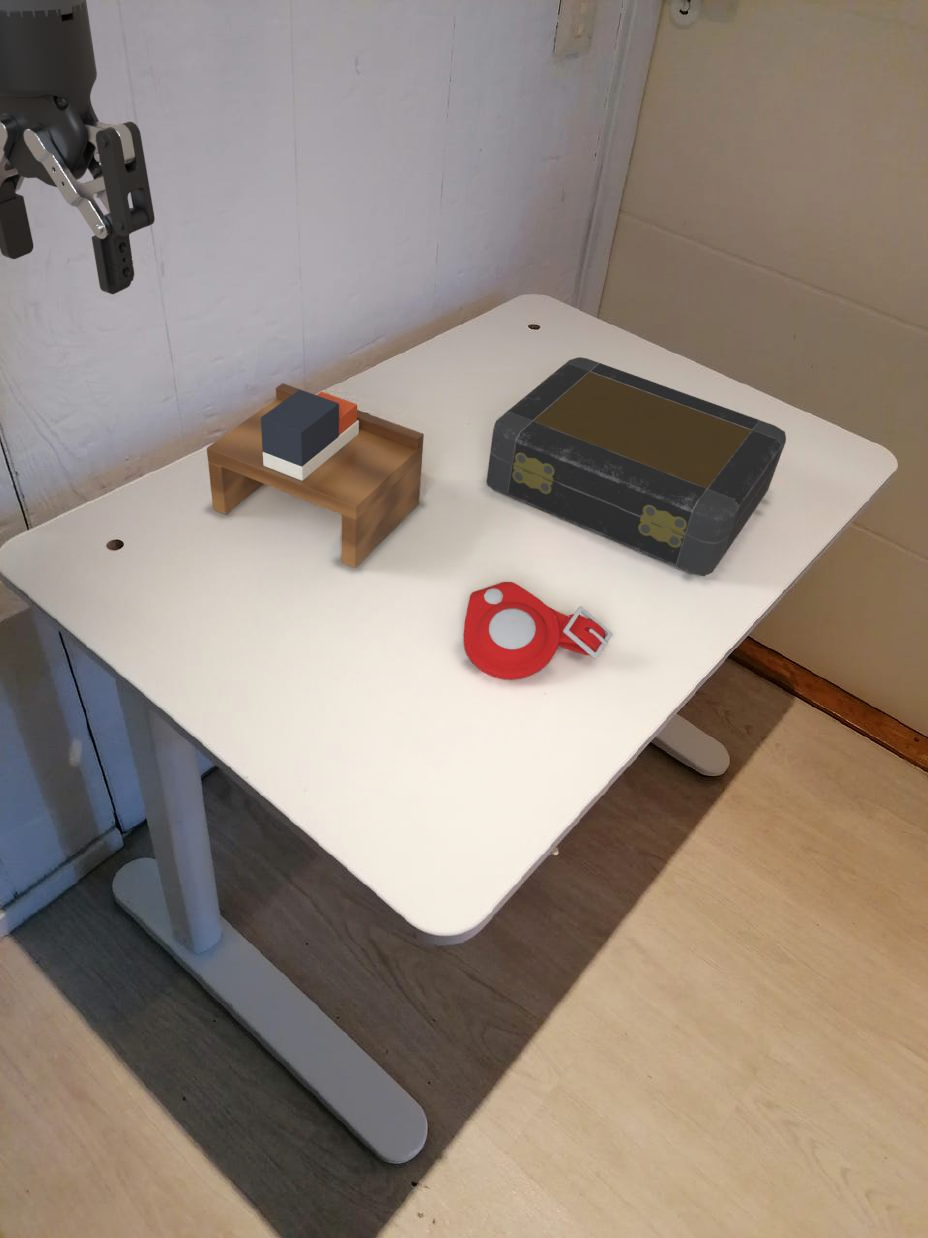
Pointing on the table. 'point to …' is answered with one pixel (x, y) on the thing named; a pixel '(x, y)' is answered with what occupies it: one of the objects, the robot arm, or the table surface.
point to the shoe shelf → (330, 477)
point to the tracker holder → (524, 632)
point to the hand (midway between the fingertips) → (67, 271)
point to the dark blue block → (306, 432)
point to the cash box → (635, 462)
